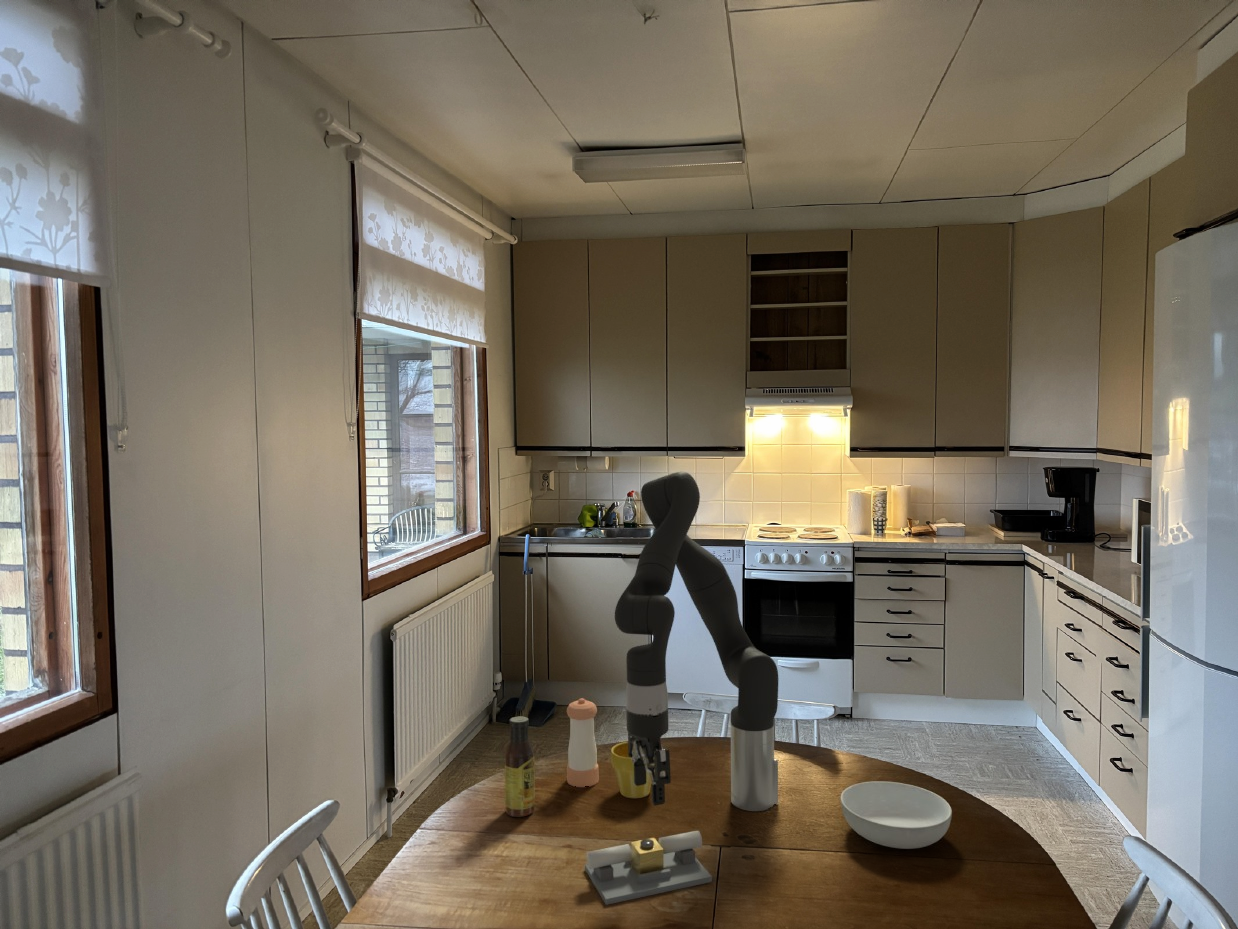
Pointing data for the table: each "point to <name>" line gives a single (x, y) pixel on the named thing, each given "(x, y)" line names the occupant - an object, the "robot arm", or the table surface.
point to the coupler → (647, 856)
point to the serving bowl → (896, 814)
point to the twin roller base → (623, 883)
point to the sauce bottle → (519, 770)
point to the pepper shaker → (582, 744)
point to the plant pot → (627, 773)
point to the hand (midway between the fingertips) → (649, 794)
